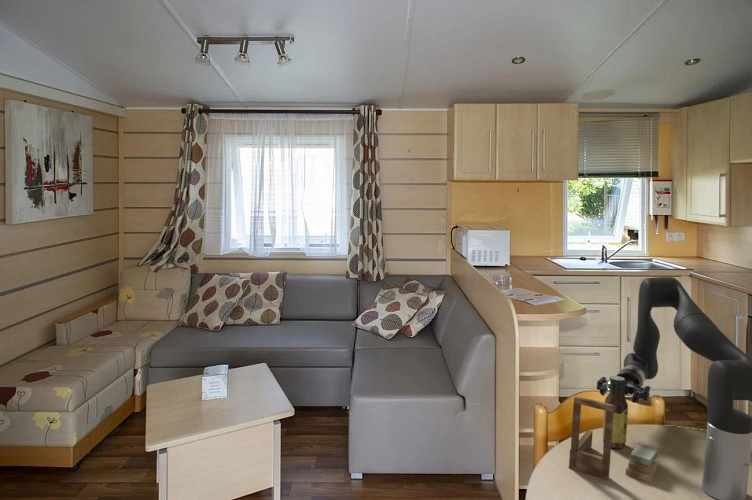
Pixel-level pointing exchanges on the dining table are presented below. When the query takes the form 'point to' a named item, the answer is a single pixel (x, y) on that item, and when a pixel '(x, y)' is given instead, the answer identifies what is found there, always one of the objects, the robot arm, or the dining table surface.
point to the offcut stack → (642, 463)
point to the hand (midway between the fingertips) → (617, 395)
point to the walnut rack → (590, 441)
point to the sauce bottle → (617, 412)
